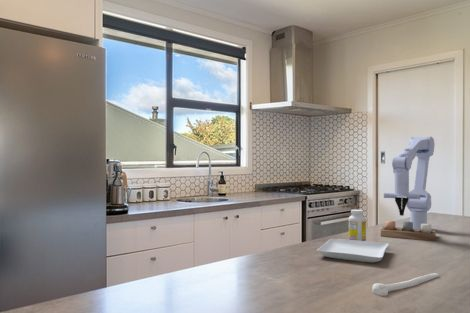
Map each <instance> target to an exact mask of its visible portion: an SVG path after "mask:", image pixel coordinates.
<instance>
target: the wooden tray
mask: <svg viewBox="0 0 470 313" xmlns="http://www.w3.org/2000/svg"><path fill="white" fill-rule="evenodd" d="M380 237H387V238H398V239H399V238H400V239H409V240H417V241H418V240H420V241H430V242H431V241H432V242H436V240H437V234H436V230H435V229H431V233H422V232H421V229H413V231H404V230H403V227H399V226H395V230H386V225H385V226H384V225H383V226H382V228H381V229H380Z"/></svg>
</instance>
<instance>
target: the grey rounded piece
mask: <svg viewBox="0 0 470 313" xmlns="http://www.w3.org/2000/svg"><path fill="white" fill-rule="evenodd" d="M402 228H403V230H404V231H413V222H410V221H404V220H403V221H402Z"/></svg>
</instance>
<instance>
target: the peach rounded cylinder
mask: <svg viewBox="0 0 470 313" xmlns="http://www.w3.org/2000/svg"><path fill="white" fill-rule="evenodd" d="M385 226H386V230H395V227H396V221H394V220H385Z"/></svg>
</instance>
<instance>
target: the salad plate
mask: <svg viewBox="0 0 470 313" xmlns="http://www.w3.org/2000/svg"><path fill="white" fill-rule="evenodd" d="M389 246H390V243H387V242H378V241H368V240H366V241H357V240H349V239H343V238H330V239H328V240H327V241H326V242H325V243H324V244H322V245H321V246H320V247H318V248H317V249H316V250H317V252H318V254H320V256H321V255H322V256H323V257H326V258H329V259H336V260H344V261H353V262H362V263H371V264H372V263H377V262H380V261H382V260H383V258H384V255H385V252H386V250H387V249H388V248H389Z"/></svg>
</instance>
